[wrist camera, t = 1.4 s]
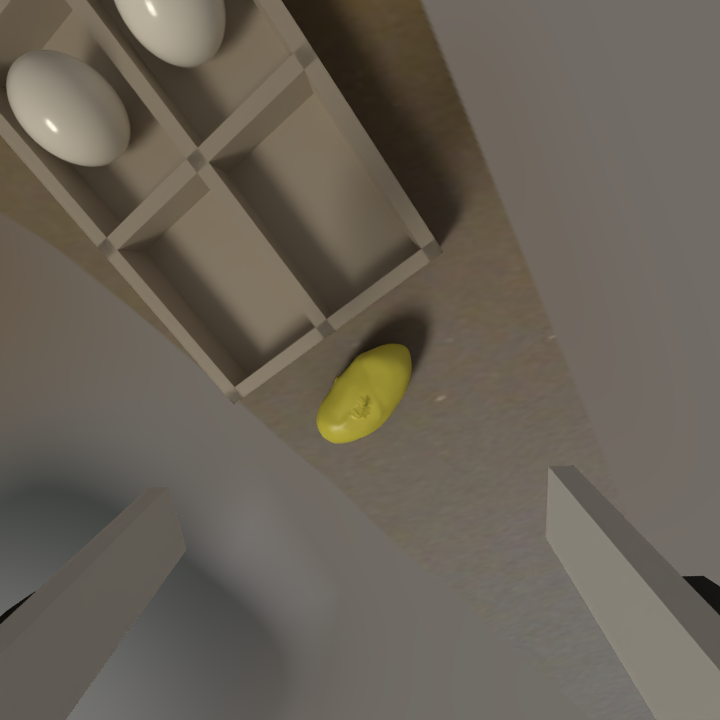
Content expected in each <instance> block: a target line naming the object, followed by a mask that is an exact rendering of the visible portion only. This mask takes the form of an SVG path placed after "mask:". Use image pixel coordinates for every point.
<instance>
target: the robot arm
mask: <svg viewBox="0 0 720 720" xmlns="http://www.w3.org/2000/svg"><path fill="white" fill-rule="evenodd" d="M546 538H547V540H548V542H549V543H550V545H551V547H552V548H553V550H554V552H555V553H556V555H557V556H558V558H559V560H560V561H561V563H562V565H563V566H564V568H565V570H566V571H567V573H568V575H569V576H570V578H571V580H572V581H573V583H574V585H575V586H576V588H577V589H578V591H579V593H580V594H581V596H582V598H583V599H584V601H585V603H586V604H587V606H588V608H589V609H590V611H591V613H592V614H593V616H594V618H595V619H596V621H597V623H598V624H599V626H600V627H601V629H602V631H603V632H604V634H605V636H606V637H607V639H608V641H609V642H610V644H611V646H612V647H613V649H614V651H615V652H616V654H617V656H618V657H619V659H620V660H621V662H622V664H623V665H624V667H625V669H626V670H627V672H628V674H629V675H630V677H631V679H632V680H633V682H634V684H635V685H636V687H637V689H638V690H639V692H640V693H641V695H642V697H643V698H644V700H645V702H646V703H647V705H648V707H649V708H650V710H651V712H652V713H653V715H654V717H655V718H656V720H720V587H719V586H718V585H717V584H715V583H713V582H712V581H710V580H709V579H707V578H706V577H704V576H681V575H680V574H679V573H678V572H677V571H676V570H675V569H674V568H673V567H672V566H671V565H670V564H669V563H668V562H667V561H666V560H665V559H664V558H663V557H662V556H661V555H660V554H659V553H658V552H657V551H656V550H655V549H654V547H653V546H652V545H651V544H650V543H649V542H648V541H646V539H645V538H644V537H643V536H642V535H641V534H640V533H639V532H638V531H637V530H636V529H635V528H634V527H633V526H632V525H631V524H630V523H629V522H628V521H627V520H626V519H625V518H624V517H623V516H622V515H621V513H620V512H619V511H618V510H617V509H616V508H615V507H614V506H613V505H612V504H611V503H610V502H609V501H608V500H607V499H606V498H605V497H604V496H603V495H602V494H601V493H600V492H599V491H598V490H597V489H596V488H595V487H594V486H593V485H592V484H591V483H590V482H589V481H588V480H587V479H586V477H585V476H584V475H583V474H582V473H581V472H580V471H579V470H578V469H577V468H576V467H575V466H574V465H571V466H552V467H549V472H548V497H547V521H546ZM185 551H186V546H185V542H184V539H183V536H182V532H181V529H180V525H179V522H178V519H177V515H176V512H175V508H174V505H173V501H172V498H171V495H170V491H169V488H168V487H154V488H148V489H147V490H146V491H145V492H143V493H142V494H141V495H140V496H139V497H138V498H137V499H136V500H135V501H134V502H132V503H131V504H130V505H129V506H128V507H127V508H126V509H125V510H124V511H123V512H122V513H121V514H119V515H118V516H117V517H116V518H115V519H114V520H113V521H112V522H111V523H110V524H109V525H108V526H107V527H105V528H104V529H103V530H102V531H101V532H100V533H99V534H98V535H97V536H96V537H95V538H93V539H92V540H91V541H90V542H89V543H88V544H87V545H86V546H85V547H84V548H83V549H82V550H80V551H79V552H78V553H77V554H76V555H75V556H74V557H73V558H72V559H71V560H70V561H69V562H67V563H66V564H65V565H64V566H63V567H62V568H61V569H60V570H59V571H58V572H57V573H56V574H54V576H52V577H51V578H50V579H49V580H48V581H47V582H46V583H45V584H44V585H42V586H41V587H40V588H39V589H38V590H37V591H36V592H34V593H32V594H30V595H29V596H28V597H26V598H25V599H23V600H22V601H20V602H19V603H17V604H16V605H14V606H13V607H12V608H10V609H9V610H7V611H6V612H5V613H4V614H3V615H2V616H0V720H66V718H67V717H68V716H69V714H70V713H71V711H72V710H73V709H74V707H75V706H76V704H77V703H78V702H79V700H80V699H81V697H82V696H83V695H84V693H85V692H86V690H87V689H88V687H89V686H90V685H91V683H92V682H93V680H94V679H95V678H96V676H97V675H98V673H99V672H100V671H101V669H102V667H103V666H104V664H105V663H106V662H107V661H108V659H109V658H110V656H111V655H112V653H113V652H114V651H115V649H116V648H117V647H118V645H119V644H120V642H121V641H122V640H123V638H124V637H125V635H126V634H127V632H128V631H129V630H130V628H131V627H132V625H133V624H134V623H135V621H136V620H137V618H138V617H139V616H140V614H141V612H142V611H143V610H144V608H145V607H146V606H147V604H148V603H149V601H150V600H151V599H152V597H153V595H154V594H155V593H156V592H157V590H158V589H159V587H160V586H161V585H162V583H163V582H164V580H165V579H166V577H167V576H168V575H169V573H170V571H171V570H172V569H173V567H174V566H175V565H176V563H177V562H178V560H179V559H180V558H181V556H182V555H183V553H184V552H185Z"/></svg>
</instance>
